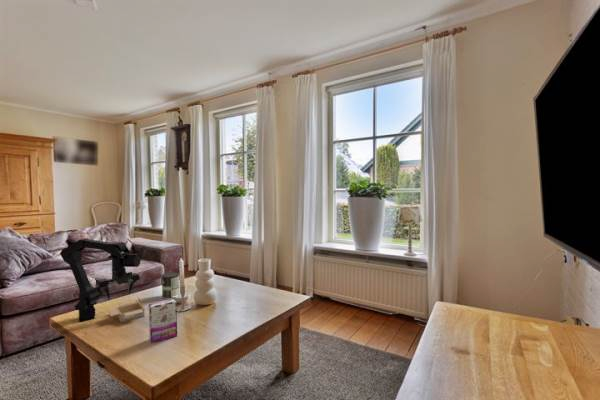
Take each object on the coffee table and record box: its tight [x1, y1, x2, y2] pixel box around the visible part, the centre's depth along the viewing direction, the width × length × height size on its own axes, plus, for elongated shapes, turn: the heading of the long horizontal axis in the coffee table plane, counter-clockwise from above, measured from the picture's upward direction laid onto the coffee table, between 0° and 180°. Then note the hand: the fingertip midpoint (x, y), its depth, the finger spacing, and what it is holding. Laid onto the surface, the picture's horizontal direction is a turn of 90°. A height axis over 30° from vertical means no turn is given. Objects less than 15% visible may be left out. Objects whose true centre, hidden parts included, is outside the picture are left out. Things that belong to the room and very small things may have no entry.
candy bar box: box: [148, 298, 178, 344], centre depth 133 cm, size 11×5×16 cm, turn 126°
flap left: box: [117, 298, 137, 307], centre depth 161 cm, size 8×1×4 cm
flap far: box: [137, 296, 145, 308], centre depth 159 cm, size 1×8×4 cm, turn 41°
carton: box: [107, 302, 145, 323], centre depth 153 cm, size 15×15×4 cm
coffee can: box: [161, 271, 180, 300], centre depth 185 cm, size 10×10×14 cm
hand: (118, 296), depth 152 cm, fingers open, 9 cm apart
